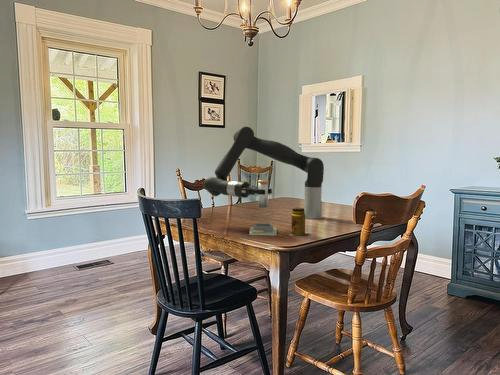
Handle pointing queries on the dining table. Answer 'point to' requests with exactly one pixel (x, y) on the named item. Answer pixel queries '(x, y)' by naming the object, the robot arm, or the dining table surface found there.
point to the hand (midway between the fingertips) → (268, 191)
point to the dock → (263, 229)
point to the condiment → (298, 223)
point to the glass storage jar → (263, 198)
